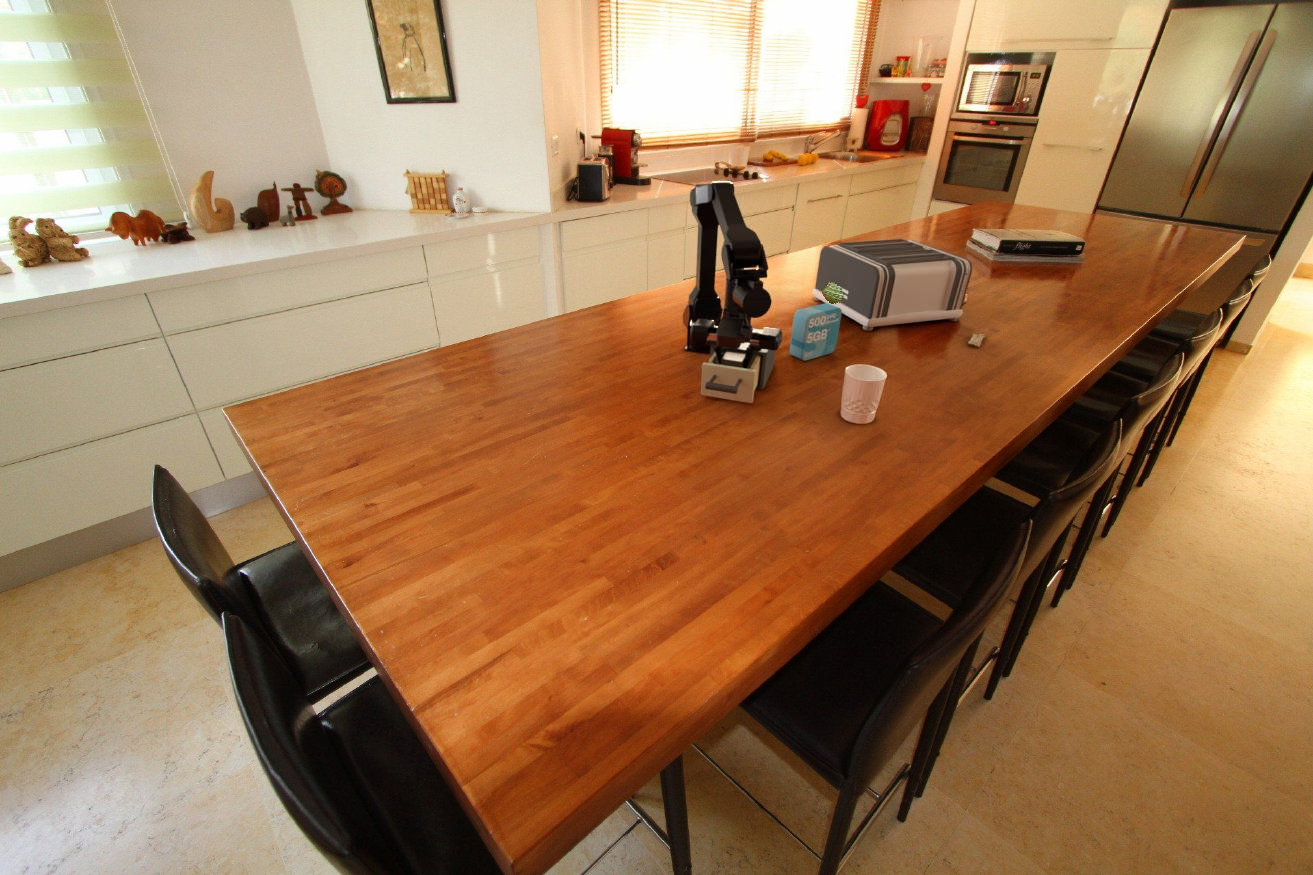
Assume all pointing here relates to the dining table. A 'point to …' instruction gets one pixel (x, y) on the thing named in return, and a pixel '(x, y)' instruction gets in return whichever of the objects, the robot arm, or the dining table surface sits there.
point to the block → (733, 359)
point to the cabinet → (766, 362)
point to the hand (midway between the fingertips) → (733, 371)
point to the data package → (815, 331)
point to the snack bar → (976, 339)
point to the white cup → (861, 393)
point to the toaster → (894, 281)
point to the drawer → (731, 379)
